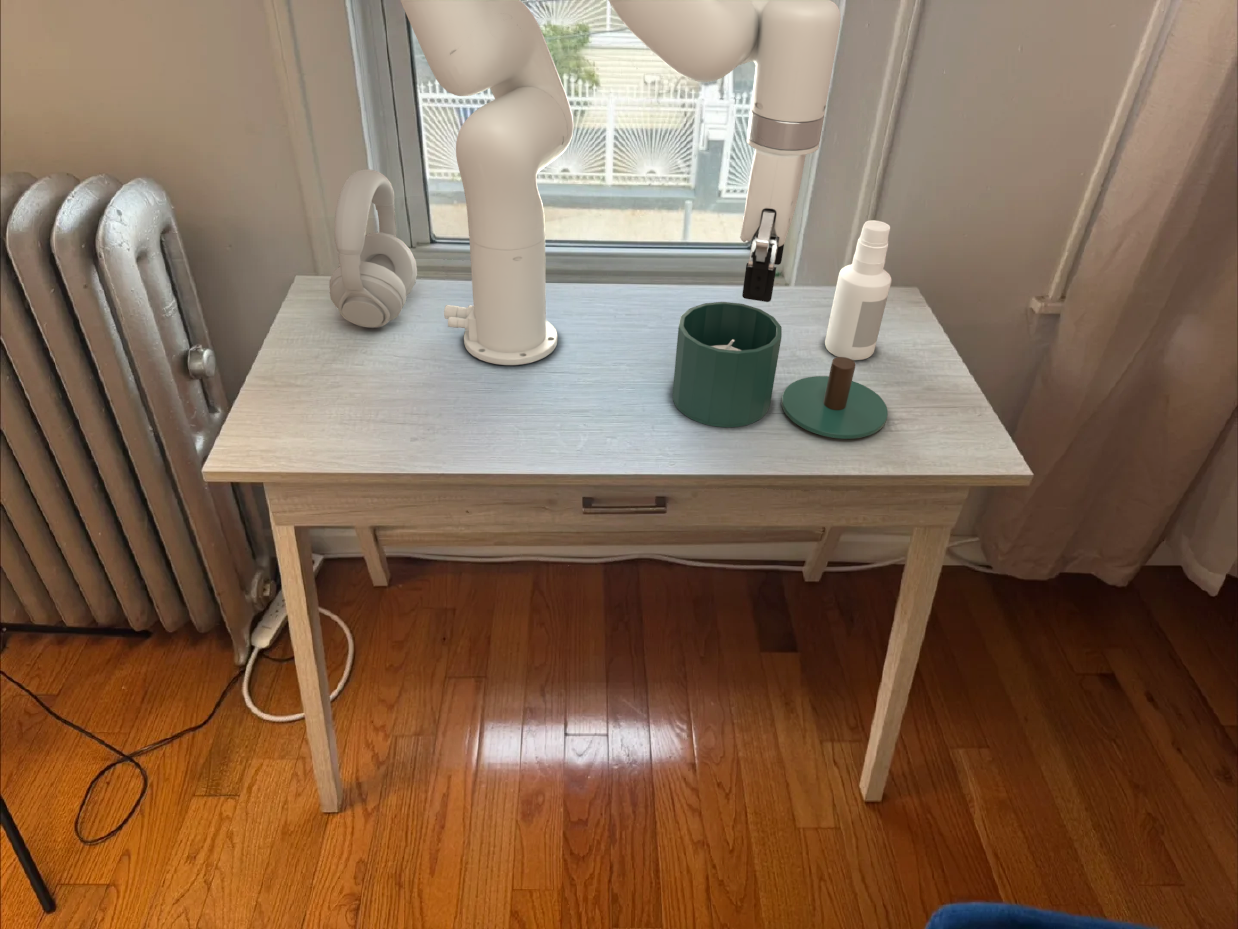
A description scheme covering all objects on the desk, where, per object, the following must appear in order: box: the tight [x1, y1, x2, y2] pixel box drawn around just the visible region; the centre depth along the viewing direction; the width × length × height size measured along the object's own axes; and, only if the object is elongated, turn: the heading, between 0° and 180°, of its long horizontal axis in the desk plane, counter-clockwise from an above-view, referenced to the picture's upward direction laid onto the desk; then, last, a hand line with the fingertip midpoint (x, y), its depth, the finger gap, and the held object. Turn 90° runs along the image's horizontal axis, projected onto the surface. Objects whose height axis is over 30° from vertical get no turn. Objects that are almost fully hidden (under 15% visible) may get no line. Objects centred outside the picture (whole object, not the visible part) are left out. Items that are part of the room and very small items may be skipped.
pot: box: [671, 301, 783, 428], centre depth 113 cm, size 12×12×10 cm
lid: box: [781, 356, 889, 440], centre depth 113 cm, size 13×13×7 cm
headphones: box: [328, 168, 418, 329], centre depth 124 cm, size 18×10×20 cm, turn 177°
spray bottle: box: [824, 219, 892, 361], centre depth 122 cm, size 7×7×18 cm
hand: (762, 280), depth 106 cm, fingers open, 9 cm apart
